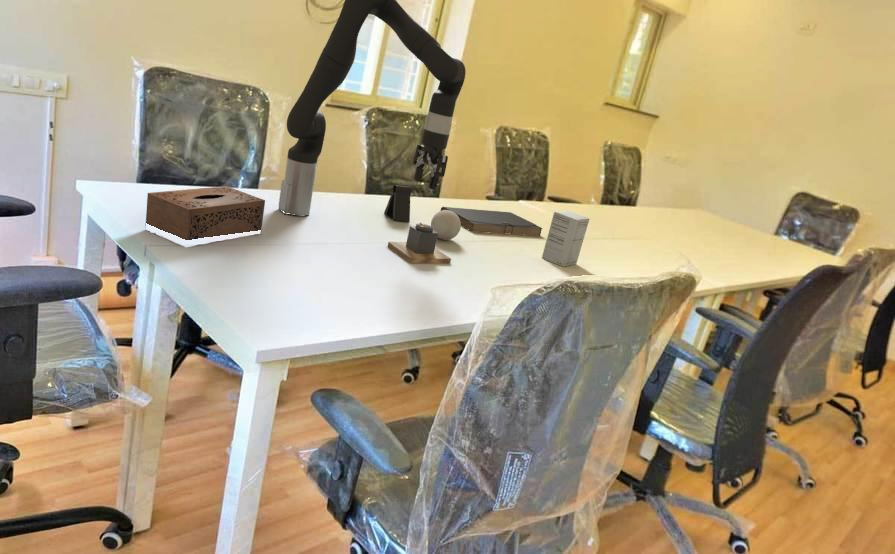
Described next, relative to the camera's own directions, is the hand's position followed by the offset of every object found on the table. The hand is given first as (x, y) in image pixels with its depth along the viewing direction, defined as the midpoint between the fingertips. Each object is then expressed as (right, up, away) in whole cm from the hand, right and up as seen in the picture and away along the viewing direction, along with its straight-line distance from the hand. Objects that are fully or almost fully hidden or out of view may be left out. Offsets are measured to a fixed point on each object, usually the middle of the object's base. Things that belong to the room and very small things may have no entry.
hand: (424, 184), depth 185 cm
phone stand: (-12, -6, +41) cm, 43 cm away
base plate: (-2, -20, +4) cm, 21 cm away
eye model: (+5, -14, +27) cm, 31 cm away
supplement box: (+45, -22, +33) cm, 60 cm away
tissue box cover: (-58, -16, -17) cm, 62 cm away
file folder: (+24, -7, +64) cm, 68 cm away
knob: (-2, -19, +4) cm, 19 cm away
